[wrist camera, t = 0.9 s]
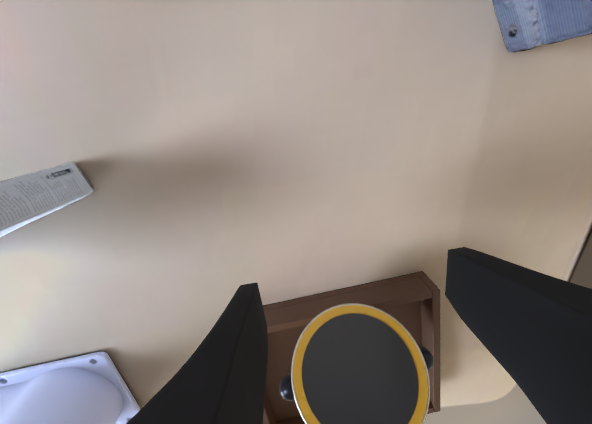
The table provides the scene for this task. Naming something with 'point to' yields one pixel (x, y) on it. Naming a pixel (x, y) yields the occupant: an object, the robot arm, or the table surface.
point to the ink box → (40, 195)
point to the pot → (358, 370)
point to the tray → (381, 294)
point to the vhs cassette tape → (542, 21)
